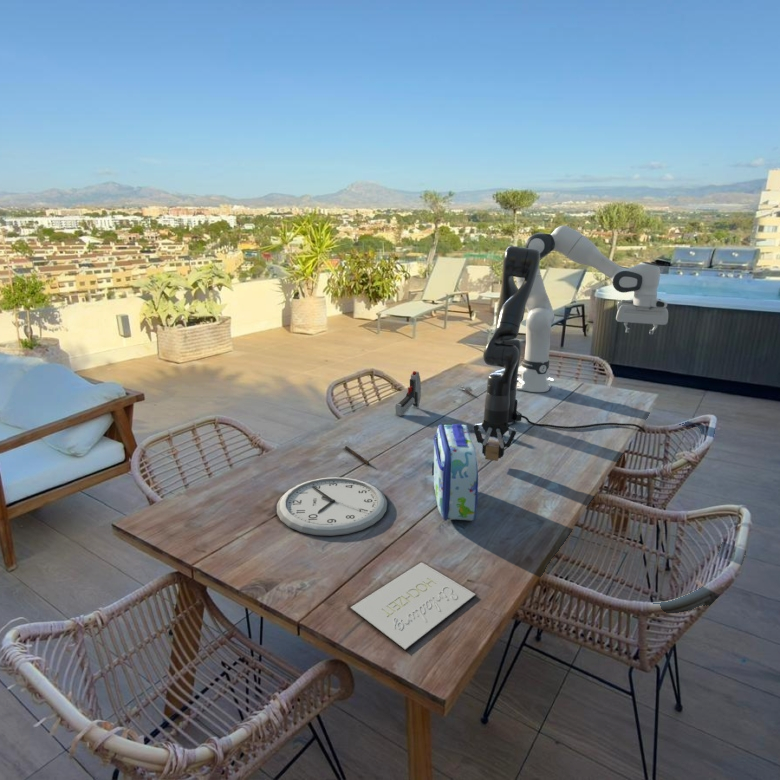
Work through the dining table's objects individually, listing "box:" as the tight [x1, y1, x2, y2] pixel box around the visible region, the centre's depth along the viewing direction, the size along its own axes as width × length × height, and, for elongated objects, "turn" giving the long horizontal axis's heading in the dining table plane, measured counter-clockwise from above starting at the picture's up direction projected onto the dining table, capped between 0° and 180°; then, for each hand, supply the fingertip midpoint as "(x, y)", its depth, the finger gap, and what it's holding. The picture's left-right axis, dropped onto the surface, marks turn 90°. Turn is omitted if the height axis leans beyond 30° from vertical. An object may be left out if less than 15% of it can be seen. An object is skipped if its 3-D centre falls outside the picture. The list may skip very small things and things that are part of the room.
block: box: [484, 439, 500, 462], centre depth 168 cm, size 5×4×5 cm
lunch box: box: [431, 423, 479, 522], centre depth 142 cm, size 26×11×21 cm, turn 179°
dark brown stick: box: [344, 445, 370, 465], centre depth 173 cm, size 15×1×1 cm, turn 34°
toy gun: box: [395, 370, 422, 417], centre depth 214 cm, size 2×16×15 cm
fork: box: [457, 383, 474, 397], centre depth 243 cm, size 3×16×2 cm, turn 15°
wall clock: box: [276, 476, 388, 537], centre depth 142 cm, size 30×2×30 cm
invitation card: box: [350, 562, 476, 651], centre depth 106 cm, size 21×1×15 cm
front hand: (492, 455), depth 169 cm, fingers closed on block, 4 cm apart
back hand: (639, 333), depth 227 cm, fingers open, 8 cm apart
